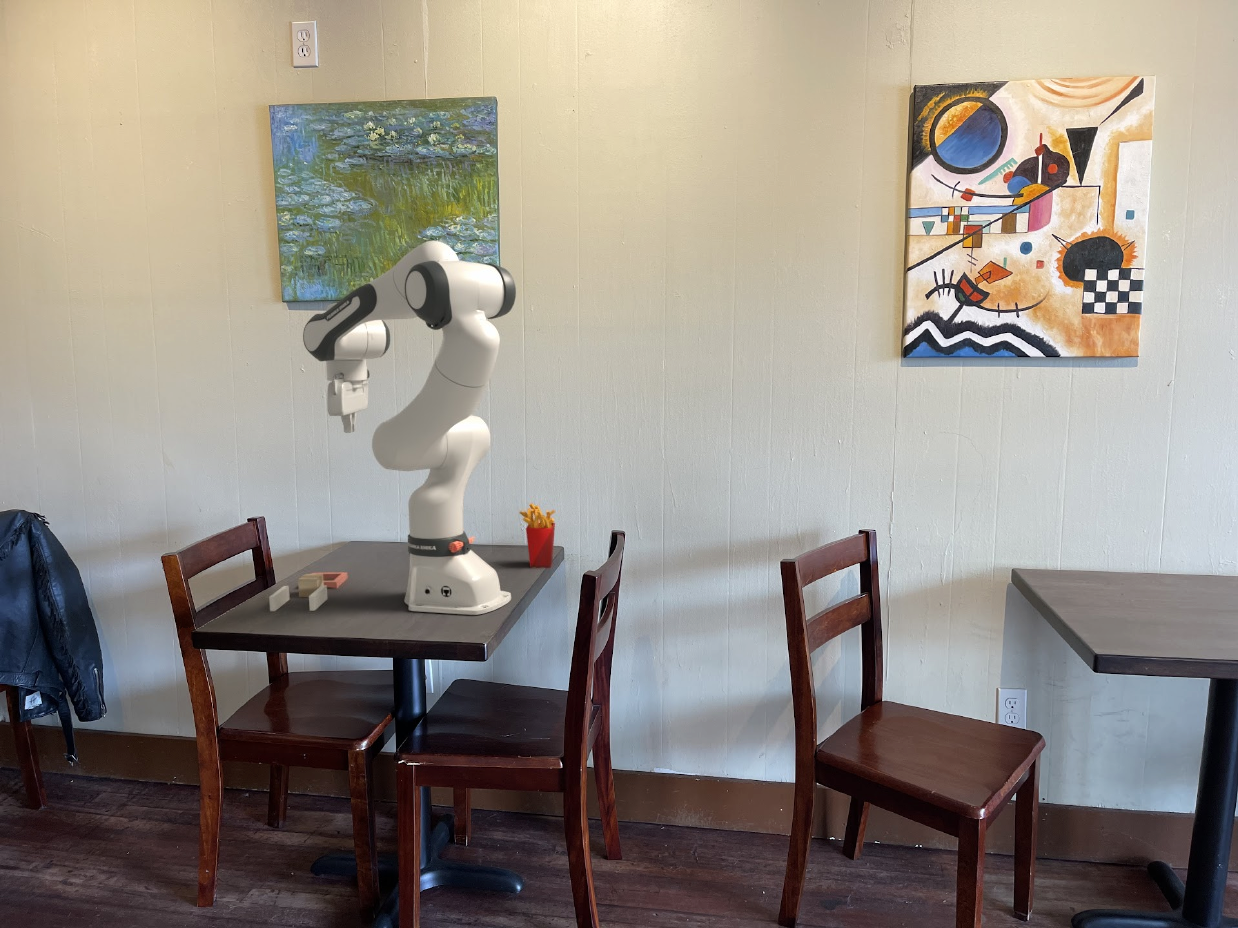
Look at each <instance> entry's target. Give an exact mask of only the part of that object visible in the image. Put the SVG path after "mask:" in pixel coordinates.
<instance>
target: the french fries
mask: <svg viewBox="0 0 1238 928" xmlns="http://www.w3.org/2000/svg"><path fill="white" fill-rule="evenodd" d="M528 506H529V507H530V508H527V509H526V510H524V511H523V510H520V511H519V515H521V516H523V519H522V521H523V522H524V523H527V526H526V528H525V530H526V533H525V534H526V539H527V549H528V557H529V566H530V567H547V568H548V569H550V568H551V567H552V564H553V558H554V557H553V556H554V546H555V545H554V544H555V528H556V522H555V519H554V517H551V516H552V515H554V514H555V513H556V510H555V509H553V510H551V511H550V510H546V511H545V513H546V515H544V514H543V512H542V511H541V508H540V506H539V505H538V504H537V505H534V503H529V504H528ZM526 511H527V512H526ZM547 568H546V569H547Z"/></svg>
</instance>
